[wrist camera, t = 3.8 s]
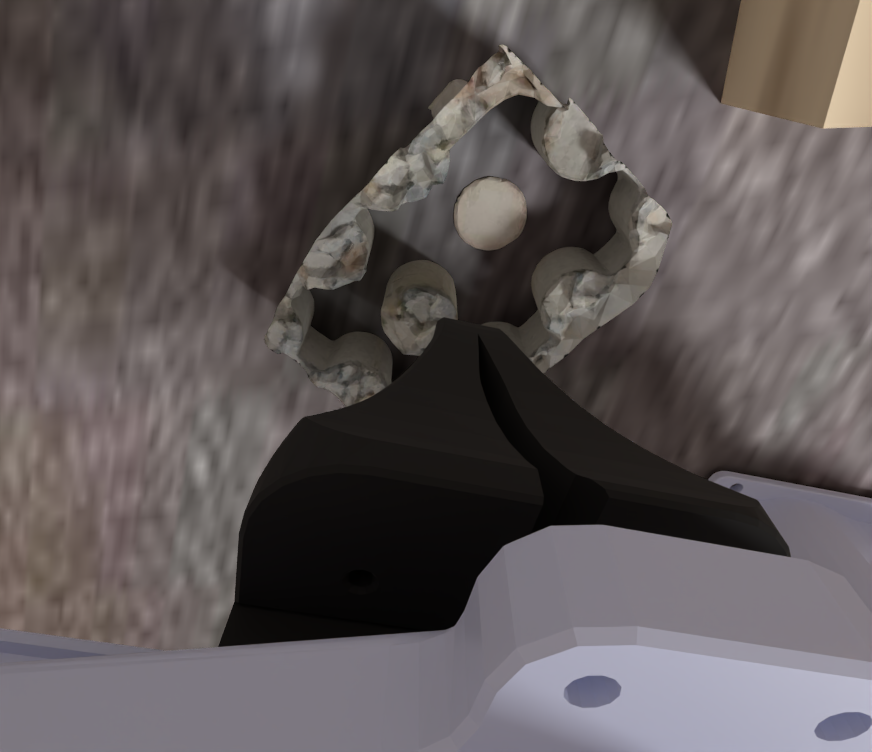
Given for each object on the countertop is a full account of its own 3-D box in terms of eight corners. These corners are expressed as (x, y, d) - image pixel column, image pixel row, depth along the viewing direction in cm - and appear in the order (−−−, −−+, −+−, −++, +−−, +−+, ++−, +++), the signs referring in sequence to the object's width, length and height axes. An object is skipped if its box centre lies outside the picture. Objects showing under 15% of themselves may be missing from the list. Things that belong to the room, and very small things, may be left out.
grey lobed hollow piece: (495, 19, 15) (512, 14, 12) (660, 215, 18) (716, 258, 14) (264, 291, 19) (225, 349, 16) (427, 418, 22) (426, 492, 18)
